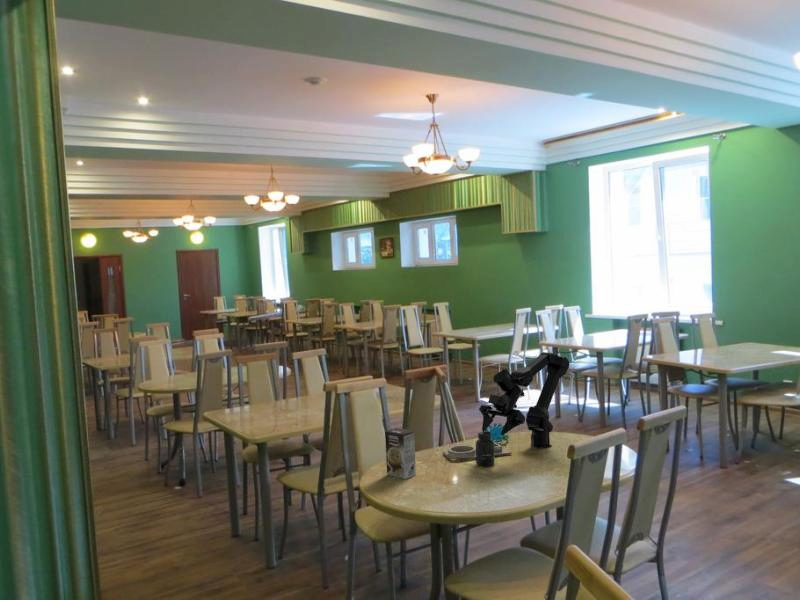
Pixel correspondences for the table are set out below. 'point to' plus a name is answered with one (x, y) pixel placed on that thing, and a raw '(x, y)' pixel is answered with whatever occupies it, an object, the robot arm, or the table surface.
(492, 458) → the supplement bottle
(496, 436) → the gear
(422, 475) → the table surface
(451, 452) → the socket board
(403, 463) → the coffee box
